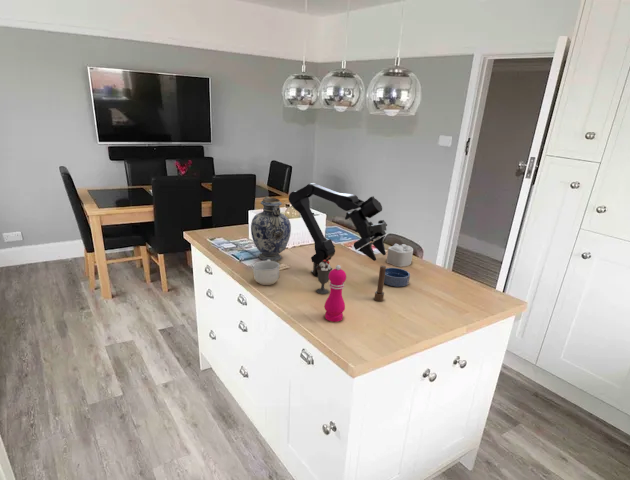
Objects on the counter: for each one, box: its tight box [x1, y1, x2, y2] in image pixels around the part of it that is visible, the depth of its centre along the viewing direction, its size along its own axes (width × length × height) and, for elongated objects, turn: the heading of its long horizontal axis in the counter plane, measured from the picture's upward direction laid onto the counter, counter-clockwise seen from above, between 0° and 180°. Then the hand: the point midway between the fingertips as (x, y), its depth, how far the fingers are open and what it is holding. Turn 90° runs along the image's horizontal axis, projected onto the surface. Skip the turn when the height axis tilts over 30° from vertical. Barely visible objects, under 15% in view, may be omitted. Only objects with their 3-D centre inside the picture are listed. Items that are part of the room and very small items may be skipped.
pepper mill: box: [324, 264, 347, 323], centre depth 144 cm, size 7×7×20 cm
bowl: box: [384, 267, 411, 288], centre depth 183 cm, size 12×12×4 cm
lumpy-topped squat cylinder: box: [386, 243, 414, 268], centre depth 207 cm, size 10×13×9 cm
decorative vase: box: [250, 195, 292, 262], centre depth 196 cm, size 21×19×28 cm
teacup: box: [252, 260, 280, 286], centre depth 173 cm, size 14×11×8 cm
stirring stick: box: [373, 265, 387, 302], centre depth 163 cm, size 4×4×14 cm
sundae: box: [316, 256, 333, 295], centre depth 166 cm, size 7×7×15 cm
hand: (380, 257), depth 168 cm, fingers open, 9 cm apart
